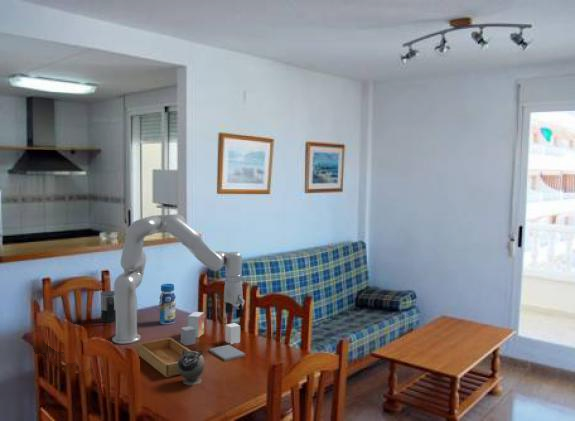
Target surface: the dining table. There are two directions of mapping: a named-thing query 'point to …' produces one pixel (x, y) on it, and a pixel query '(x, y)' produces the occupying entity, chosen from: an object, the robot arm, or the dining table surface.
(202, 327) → the small box
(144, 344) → the tray
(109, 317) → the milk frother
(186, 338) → the grey block
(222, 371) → the dining table surface
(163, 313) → the beverage bottle
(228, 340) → the label box
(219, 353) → the grey mat
